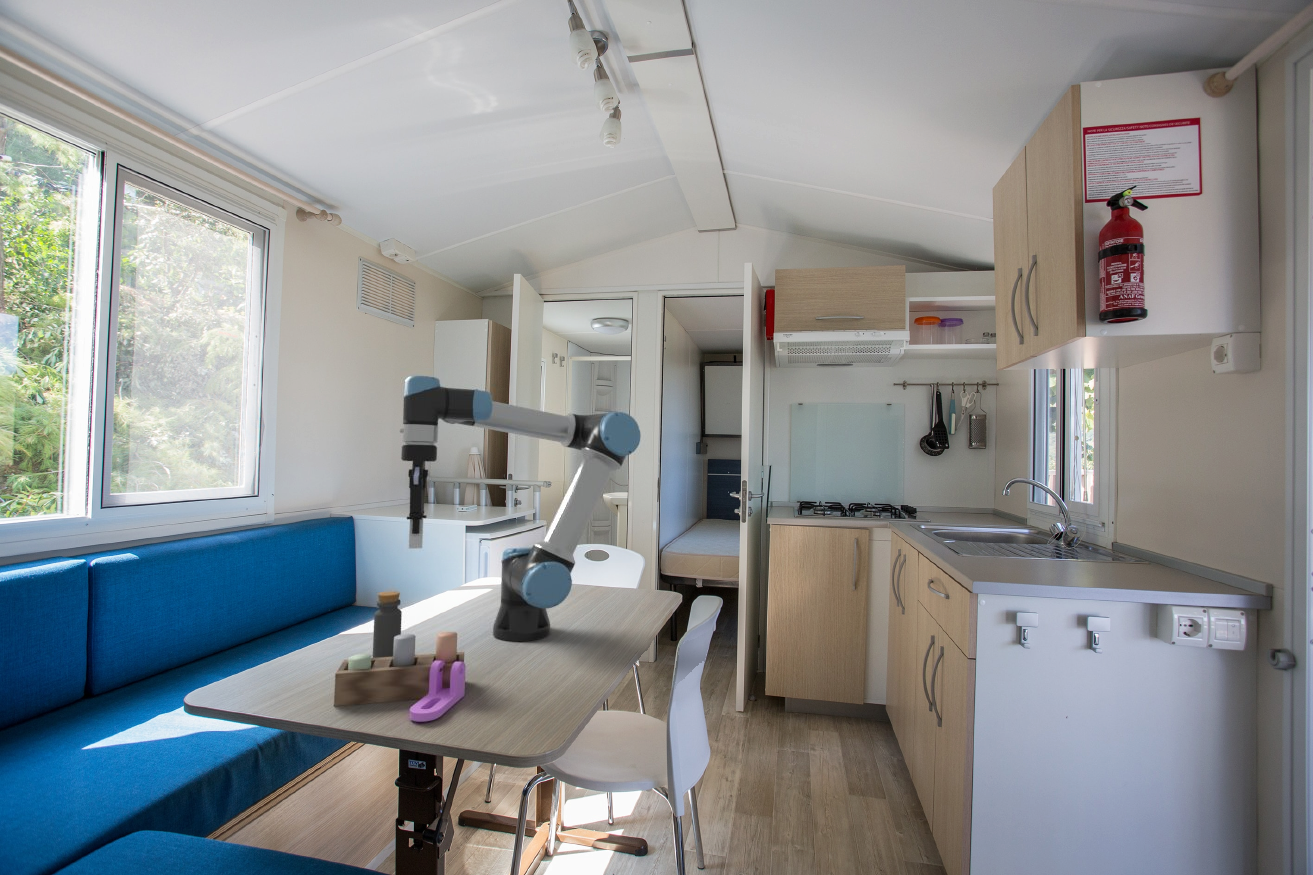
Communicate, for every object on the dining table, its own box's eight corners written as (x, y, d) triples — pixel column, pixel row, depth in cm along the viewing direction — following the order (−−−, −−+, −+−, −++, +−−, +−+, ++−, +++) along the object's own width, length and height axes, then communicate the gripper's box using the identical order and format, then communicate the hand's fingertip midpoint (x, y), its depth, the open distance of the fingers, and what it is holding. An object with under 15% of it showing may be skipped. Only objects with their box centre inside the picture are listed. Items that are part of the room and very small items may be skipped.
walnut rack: (463, 680, 126) (464, 651, 126) (462, 694, 118) (463, 664, 119) (342, 690, 119) (344, 659, 120) (333, 706, 112) (335, 673, 112)
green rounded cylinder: (371, 686, 119) (372, 653, 119) (368, 693, 115) (369, 659, 116) (349, 687, 118) (350, 654, 118) (345, 695, 114) (346, 661, 114)
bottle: (389, 663, 135) (392, 596, 136) (366, 660, 137) (369, 594, 137) (405, 654, 141) (407, 591, 142) (383, 652, 142) (386, 589, 143)
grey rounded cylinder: (415, 665, 122) (416, 633, 122) (413, 672, 118) (414, 639, 118) (393, 667, 120) (395, 634, 121) (391, 673, 117) (392, 640, 117)
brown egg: (456, 662, 124) (457, 631, 124) (455, 669, 120) (457, 636, 120) (436, 664, 123) (437, 632, 123) (434, 670, 119) (436, 637, 119)
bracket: (437, 693, 118) (438, 657, 119) (464, 695, 118) (465, 659, 118) (403, 720, 106) (405, 680, 106) (433, 722, 105) (435, 681, 105)
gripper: (405, 444, 141) (401, 544, 140) (398, 442, 129) (393, 552, 128) (438, 445, 143) (434, 543, 142) (435, 444, 131) (431, 551, 130)
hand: (415, 547), depth 135 cm, fingers closed
